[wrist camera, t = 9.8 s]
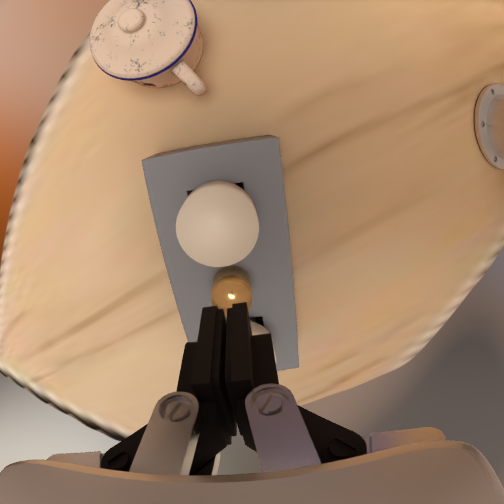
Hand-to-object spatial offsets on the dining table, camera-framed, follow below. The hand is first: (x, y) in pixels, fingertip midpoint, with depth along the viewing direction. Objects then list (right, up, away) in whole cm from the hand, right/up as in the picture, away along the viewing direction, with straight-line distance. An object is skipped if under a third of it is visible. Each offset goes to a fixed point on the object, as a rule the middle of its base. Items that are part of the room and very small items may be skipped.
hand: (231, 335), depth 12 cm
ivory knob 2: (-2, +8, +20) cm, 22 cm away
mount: (-2, +3, +24) cm, 24 cm away
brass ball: (-1, 0, +19) cm, 19 cm away
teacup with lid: (-8, +23, +15) cm, 29 cm away
